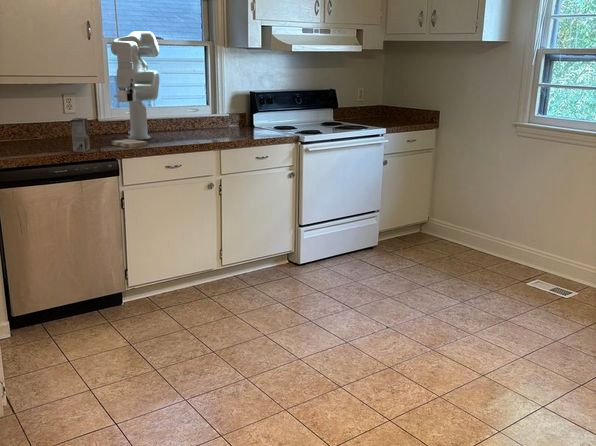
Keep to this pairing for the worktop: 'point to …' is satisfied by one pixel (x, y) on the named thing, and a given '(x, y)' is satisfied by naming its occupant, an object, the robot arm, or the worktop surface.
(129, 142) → the maple board
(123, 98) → the connector
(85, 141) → the coffee box
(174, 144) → the worktop surface
